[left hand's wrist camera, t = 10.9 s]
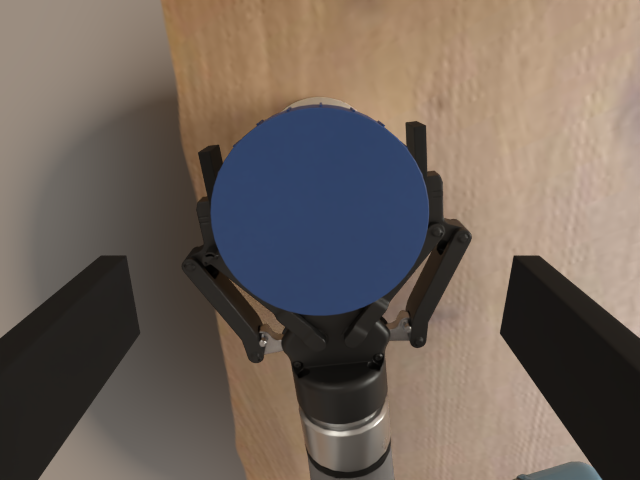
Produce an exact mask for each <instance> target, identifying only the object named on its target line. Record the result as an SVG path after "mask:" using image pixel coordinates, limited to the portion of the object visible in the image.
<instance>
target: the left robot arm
mask: <svg viewBox="0 0 640 480" xmlns="http://www.w3.org/2000/svg"><path fill="white" fill-rule="evenodd" d="M139 334H140V330H139V324H138V319H137V313H136V308H135V302H134V296H133V291H132V285H131V280H130V274H129V268H128V263H127V257H126V256H100V257H99V258H97V259H96V260H95V261H94V262H93V263H91V264H90V265H89V266H88V267H86V268H85V269H84V270H83V271H82V272H80V273H79V274H78V275H77V276H76V277H74V278H73V279H72V280H71V281H69V282H68V283H67V284H66V285H65V286H63V287H62V288H61V289H60V290H59V291H57V292H56V293H55V294H54V295H52V296H51V297H50V298H49V299H48V300H46V301H45V302H44V303H43V304H42V305H40V306H39V307H38V308H37V309H35V310H34V311H33V312H32V313H31V314H29V315H28V316H27V317H26V318H24V319H23V320H22V321H21V322H20V323H18V324H17V325H16V326H15V327H13V328H12V329H11V330H10V331H9V332H7V333H6V334H5V335H4V336H3V337H1V338H0V480H38V479H39V477H40V476H41V475H42V473H43V472H44V470H45V469H46V467H47V466H48V465H49V463H50V462H51V460H52V459H53V457H54V456H55V454H56V453H57V452H58V450H59V449H60V447H61V446H62V445H63V443H64V442H65V440H66V439H67V437H68V436H69V434H70V433H71V432H72V430H73V429H74V427H75V426H76V424H77V423H78V421H79V420H80V419H81V417H82V416H83V414H84V413H85V412H86V410H87V409H88V407H89V406H90V404H91V403H92V401H93V400H94V399H95V397H96V396H97V394H98V393H99V392H100V390H101V389H102V387H103V386H104V384H105V383H106V381H107V380H108V379H109V377H110V376H111V374H112V373H113V371H114V370H115V369H116V367H117V366H118V364H119V363H120V361H121V360H122V359H123V357H124V356H125V354H126V353H127V351H128V350H129V349H130V347H131V346H132V344H133V343H134V341H135V340H136V338H137V337H138V336H139ZM500 334H501V336H502V337H503V339H504V340H505V341H506V343H507V344H508V346H509V347H510V349H511V350H512V351H513V353H514V354H515V356H516V357H517V359H518V360H519V361H520V363H521V364H522V366H523V367H524V369H525V370H526V371H527V373H528V374H529V376H530V377H531V379H532V380H533V381H534V383H535V384H536V386H537V387H538V389H539V390H540V392H541V393H542V394H543V396H544V397H545V399H546V400H547V402H548V403H549V404H550V406H551V407H552V409H553V410H554V412H555V413H556V414H557V416H558V417H559V419H560V420H561V422H562V423H563V424H564V426H565V427H566V429H567V430H568V432H569V433H570V434H571V436H572V437H573V439H574V440H575V442H576V443H577V445H578V446H579V447H580V449H581V450H582V452H583V453H584V455H585V456H586V457H587V459H588V460H589V462H590V463H591V465H592V466H593V467H594V469H595V470H596V472H597V473H598V475H599V476H600V477H601V479H602V480H640V338H639V337H637V336H636V335H635V334H634V333H633V332H631V331H630V330H629V329H628V328H627V327H625V326H624V325H623V324H622V323H620V322H619V321H618V320H617V319H616V318H614V317H613V316H612V315H611V314H609V313H608V312H607V311H606V310H605V309H603V308H602V307H601V306H600V305H599V304H597V303H596V302H595V301H594V300H592V299H591V298H590V297H589V296H588V295H586V294H585V293H584V292H583V291H581V290H580V289H579V288H578V287H577V286H575V285H574V284H573V283H572V282H571V281H569V280H568V279H567V278H566V277H564V276H563V275H562V274H561V273H560V272H558V271H557V270H556V269H555V268H554V267H552V266H551V265H550V264H549V263H547V262H546V261H545V260H544V259H543V258H541V257H540V256H514V257H513V263H512V268H511V274H510V280H509V285H508V291H507V296H506V302H505V308H504V313H503V319H502V324H501V330H500Z"/></svg>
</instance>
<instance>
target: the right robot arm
mask: <svg viewBox="0 0 640 480" xmlns="http://www.w3.org/2000/svg"><path fill="white" fill-rule="evenodd" d="M406 144H407V147H408V148H407V149H408V151H409V152H410V154H411V155H412V157H413V158H414V160H415V161H416V163H417V165H418V167H419V169H420V171H421V173H422V175H423V179H424V182H425V185H426V190H427V195H428V201H429V220H428V229H427V233H426V237H425V241H424V244H423V247H422V249H421V252H420V254H419V256H418V258H417V260H416V261H415V263H414V265H413V267H412V268H411V269H410V271H409V272H408V273H407V275H406V276H405V277H404V278H403V279H402V280H401V282H400V283H399V284H398V285H397V286H396V287H394V288H393V289H392V290H391V291H390V292H388V293H387V294H386V295H384V296H383V297H381V298H380V299H378V300H377V301H375V302H373V303H371V304H369V305H367V306H365V307H362V308H359V309H356V310H354V311H350V312H346V313H342V314H335V315H327V316H313V315H304V314H298V313H294V312H289V311H286V310H283V309H280V308H278V307H275V306H273V305H271V304H269V303H267V302H265V301H263V300H262V299H260V298H258V297H257V296H255V295H254V294H252V293H251V292H250V291H249V290H248V289H246V288H245V287H244V286H243V285H242V284H241V283H240V282H239V281H238V280H237V279H236V278H235V276H234V275H233V274H232V273H231V271H230V270H229V268H228V267H227V266H226V264H225V262H224V260H223V258H222V257H221V255H220V253H219V250H218V247H217V245H216V242H215V239H214V235H213V230H212V224H211V198H212V193H213V188H214V184H215V181H216V178H217V175H218V172H219V171H220V169H221V167H222V165H223V162H222V157H221V152H220V147H219V145H212V146H208V147H206V148H204V149H203V150H201V151H200V152H198V155H199V159H200V164H201V169H202V173H203V178H204V182H205V187H206V192H207V197H202V198H201V199H200V201H199V202H198V203H197V209H196V210H197V215H198V219H199V223H200V228H201V232H202V236H203V241H204V245H202V246H200V247H195V248H193V249H192V251H191V252H190V253H189V255H188V256H187V257H186V259H185V260H184V262H183V263H182V270H183V271H184V273H185V274H186V275H187V276H188V277H189V278H190V280H191V281H192V282H193V283H194V284H195V286H196V287H197V288H198V289H199V290H200V291H201V293H202V294H203V295H204V296H205V297H206V298H207V300H208V301H209V302H210V303H211V304H212V305H213V307H214V308H215V309H216V310H217V311H218V313H219V314H220V315H221V316H222V317H223V319H224V320H225V321H226V322H227V323H228V324H229V326H230V327H231V328H232V329H233V330H234V331H235V333H236V334H237V335H238V336H239V337H240V339H241V340H242V342H243V345H244V347H245V350H246V353H247V356H248V359H249V360H250V361H251V362H253V363H259V362H261V361H262V360H263V358H264V354H269V353H274V352H279V351H284V352H285V353H286V354H287V355H288V357H289V359H290V361H291V365H292V371H293V377H294V383H295V389H296V395H297V400H298V403H299V413H300V418H301V424H302V429H303V434H304V440H305V446H306V451H307V455H308V462H309V470H310V478H311V480H395V479H394V471H393V461H392V452H391V428H390V415H389V403H388V395H387V375H386V362H385V348H386V346H387V344H388V342H389V341H408V340H409V341H410V343H411V345H412V346H413V347H415V348H420V347H422V346H424V345H425V343H426V338H427V329H428V322H429V320H430V318H431V316H432V314H433V312H434V310H435V308H436V306H437V304H438V302H439V301H440V299H441V297H442V295H443V293H444V291H445V289H446V287H447V285H448V283H449V282H450V280H451V278H452V276H453V274H454V272H455V270H456V268H457V266H458V264H459V263H460V261H461V259H462V257H463V255H464V253H465V251H466V249H467V247H468V245H469V244H470V242H471V239H472V236H471V233H470V232H469V231H468V230H467V229H466V228H465V227H464V226H463V225H462V224H461V223H460V222H459V221H458V220H457V219H451V220H450V219H445V218H444V217H443V182H442V179H441V177H440V175H439V174H438V173H436V172H435V171H428V172H427V146H426V125H424V124H422V123H419V122H417V121H414V122H406ZM431 251H432V252H431ZM430 252H431V254H430V256H429V258H428V260H427V262H426V264H425V266H424V268H423V270H422V272H421V274H420V276H419V278H418V280H417V282H416V284H415V286H414V288H413V290H412V292H411V294H410V297H409V299H408V301H407V305H406V311H405V310H402V311H400V312H399V314H398V316H397V318H396V320H395V321H394V322H392V323H387V321H386V320H385V319H384V318H383V317H382V315H383V314H384V313H385V312H386V310H387V308H388V305H389V302H390V301H391V300H392V298H393V297H394V296H395V295H396V294H397V292H398V291H399V290H400V289H401V287H402V286H403V285H404V284H405V283H406V281H407V280H408V279H409V278H410V277H411V275H412V274H413V273H414V272H415V270H416V269H417V268H418V267H419V266H420V264H421V263H422V262H423V261H424V260H425V258H426V257H427V256H428V255H429V253H430ZM229 279H230V280H232V281H233V282H234V283H235V284H237V285H238V286H239V287H240V288H242V289H243V290H244V291H246V292H247V293H248V294H249V295H251V296H252V297H253V298H254V299H256V300H257V301H258V302H260V303H261V304H262V305H263V306H265V307H266V308H267V309H268V310H270V311H271V312H272V313H273V314H274V315H275V317H276V319H277V320H278V321H279V322H280V323H281V324H282V325H284V326H285V328H284V330H283V333H282V334H277V333H275V332H273V330H272V329H271V328H270V326H269V325H268V324H262V321H261V319H260V318H259V316H258V314H257V313H256V312H255V310H254V309H253V308H252V307H251V305H250V304H249V303H248V302H247V300H246V299H245V298H244V297H243V296H242V294H241V293H240V292H239V291H238V289H237V288H236V287H235V286H234V284H233V283H232V282H231V281H230V280H229ZM513 480H602V479H601V477H600V476H599V475H598V473H597V472H596V470H595V469H594V468H593V467H592V466H590V465H588V464H586V463H583V462H569V463H566V464H562V465H559V466H556V467H552V468H549V469H545V470H542V471H539V472H535V473H532V474H529V475H524V474H521V475H519V476H517V478H516V479H513Z"/></svg>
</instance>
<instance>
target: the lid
mask: <svg viewBox="0 0 640 480" xmlns="http://www.w3.org/2000/svg"><path fill="white" fill-rule="evenodd" d="M256 125H257V126H256V127H255V128H254V129H253V130H251V131H250V132H249V133H248V134H247V135H245V136H244V137H243V138H242V139H241V140H239V141H238V142H237V143H236V144H234V145H233V147H234V148H233V149H232V150H231V152H230V153H229V155H228V156H227V158H226V159H225V161H224V163H223V165H222V167H221V169H220V171H219V172H218V175H217V178H216V181H215V184H214V188H213V193H212V198H211V224H212V230H213V235H214V239H215V242H216V245H217V247H218V250H219V253H220V255H221V257H222V258H223V260H224V262H225V264H226V266H227V267H228V268H229V270H230V271H231V273H232V274H233V275H234V276H235V278H236V279H237V280H238V281H239V282H240V283H241V284H242V285H243V286H244V287H245V288H246V289H248V290H249V291H250V292H251V293H252V294H254V295H255V296H257V297H258V298H260V299H262V300H263V301H265V302H267V303H269V304H271V305H273V306H275V307H278V308H280V309H283V310H286V311H289V312H294V313H298V314H304V315H313V316H327V315H335V314H342V313H346V312H350V311H354V310H356V309H359V308H362V307H365V306H367V305H369V304H371V303H373V302H375V301H377V300H378V299H380V298H381V297H383V296H384V295H386V294H387V293H388V292H390V291H391V290H392V289H393V288H394V287H396V286H397V285H398V284H399V283H400V282H401V280H402V279H403V278H404V277H405V276H406V275H407V273H408V272H409V271H410V269H411V268H412V267H413V265H414V263H415V261H416V260H417V258H418V256H419V254H420V252H421V249H422V247H423V244H424V241H425V237H426V233H427V229H428V220H429V201H428V195H427V190H426V185H425V182H424V179H423V175H422V173H421V171H420V169H419V167H418V165H417V163H416V161H415V160H414V158H413V157H412V155H411V154H410V152H409V151H408V149H407V148H408V147H407V146H406V145H405V144H403V143H402V142H401V141H399V139H398V138H397V137H395V136H394V135H393V134H392V133H391V132H389V131H388V130H387V129H386V128H385V127H384V126H385V125H384V124H382V123H381V122H380V121H378V122H376V121H375V120H373V119H372V118H370V117H368V116H367V115H364V114H362V113H360V112H357V111H355V110H354V109H353V108H352V107H350V109H348V108H345V107H341V106H335V105H328V104H322V103H320V104H312V105H305V106H298V107H295V108H291V107H289V108H288V109H287V110H285V111H282V112H280V113H278V114H275V115H273V116H271V117H270V118H268V119H266V120H265V121H264V120H261V121H260V122H259V123H257V124H256Z"/></svg>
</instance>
